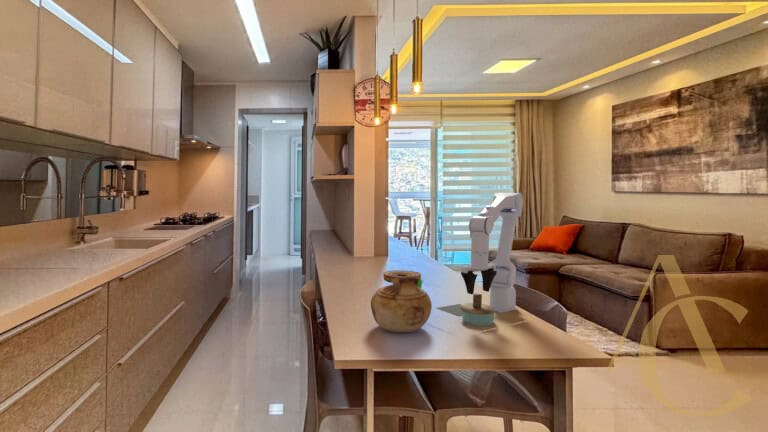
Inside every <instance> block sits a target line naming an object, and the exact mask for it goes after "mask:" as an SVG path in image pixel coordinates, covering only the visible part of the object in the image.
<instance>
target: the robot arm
mask: <svg viewBox="0 0 768 432" xmlns="http://www.w3.org/2000/svg"><path fill="white" fill-rule="evenodd" d="M491 203H492V204H491V205H486V206H485V207H484V208H483V210H481V212H479V214H478V215H476V216H475V215H474V216H472V217H470V219H469V222H468V230H469V231H468V232H469V237H470V239H471V240H470V241H471V242H470V243H471V244H470V248H471V249H470V262H469V263H468V264H467V265H463V266H461V271H460V275H461V277H462V279H463V282H464V284H465V288H466V293H467V294H469V295H473V294H475V292H474V291H475V284H476V280H477V277H478V274H475V272H480V273H481V279H482V291H484V292H486V293H490V294H489V295H490V296H489V306H491V307H493V308H494V312H497V313H506V312H510V311H515V310H518V308H517V307H516V306H517V304H516V302H517V301H516V300H517V290H516V288H515V284H516V281H517V267H516V265H515V264H514V263H513V262H512V261H511V260H510V259H511V254H512V249H513V242H514V236H515V229H516V223H517V219H518V218H520V217H521V216H522V213H523V207H524V197H523V194H522V193H521V192H498V191H497V192H495V193H494V194H493V198H492V202H491ZM499 217H502V223H501V229H500V233H499V234H500V235H499V240H498V247H497V253H496V257H495V259H493V260H491V261H490V262H489V253H490V252H489V251H490V247H489V246H490V235H491V233H492V231H493V228H494V225H495V223H496V221H497V220H498V219H499Z"/></svg>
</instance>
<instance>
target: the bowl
mask: <svg viewBox="0 0 768 432" xmlns="http://www.w3.org/2000/svg"><path fill="white" fill-rule="evenodd" d="M461 318H462V321H463V322H464V323H466V324H468V325H472V326H479V327H485V326H491V325H493V324H494V321H495V311H494V312H493V313H491V314H471V313H467V312H464V311H463V315H462V316H461Z"/></svg>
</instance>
